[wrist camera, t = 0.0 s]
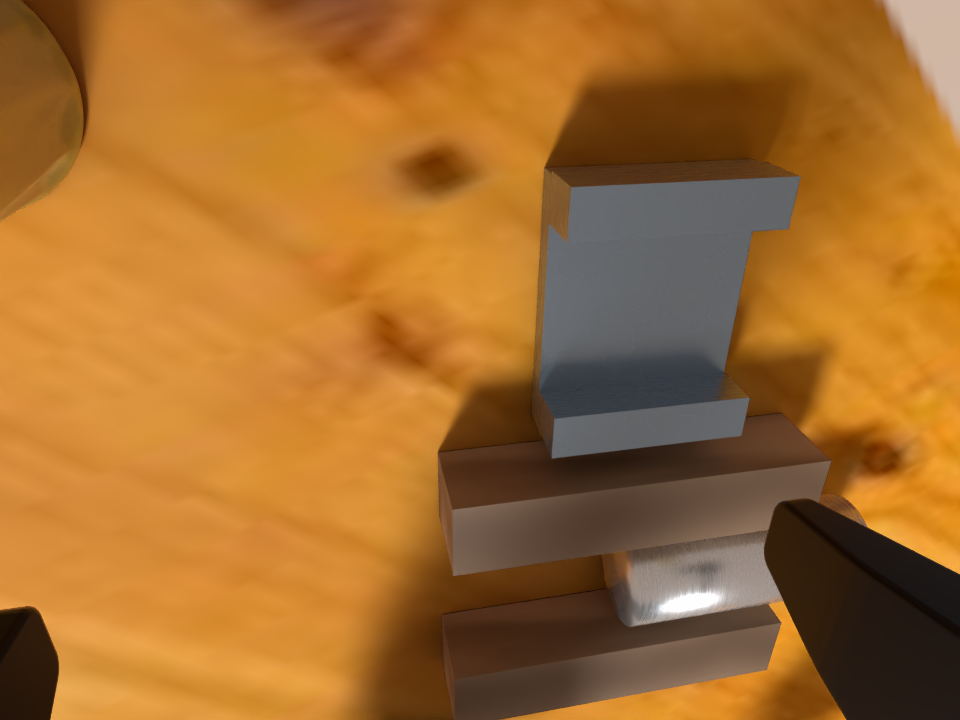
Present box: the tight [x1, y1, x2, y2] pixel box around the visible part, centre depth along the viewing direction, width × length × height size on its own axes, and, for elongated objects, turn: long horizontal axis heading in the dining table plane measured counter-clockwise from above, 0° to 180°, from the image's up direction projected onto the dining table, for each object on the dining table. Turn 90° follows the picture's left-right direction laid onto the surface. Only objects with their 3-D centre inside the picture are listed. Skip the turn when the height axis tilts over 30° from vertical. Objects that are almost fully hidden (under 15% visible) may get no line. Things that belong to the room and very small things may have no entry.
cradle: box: [531, 159, 801, 458], centre depth 23 cm, size 9×7×3 cm
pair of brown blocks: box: [438, 413, 831, 720], centre depth 29 cm, size 12×14×3 cm
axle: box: [602, 494, 867, 627], centre depth 29 cm, size 10×4×4 cm, turn 89°
